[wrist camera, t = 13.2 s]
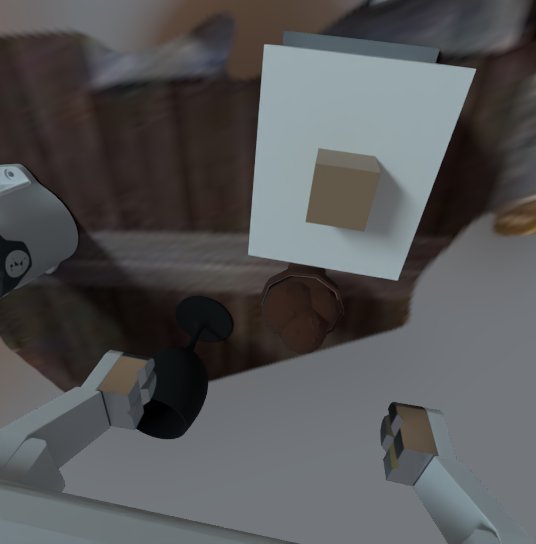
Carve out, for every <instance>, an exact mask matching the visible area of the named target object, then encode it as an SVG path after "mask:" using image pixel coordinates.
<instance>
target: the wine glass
mask: <svg viewBox="0 0 536 544" xmlns="http://www.w3.org/2000/svg"><path fill="white" fill-rule="evenodd" d="M176 319H177V322H178V324H179V326H180V327H181V328H182V330H183V331H184V332H185V333H187V334H188V335H189V336H191V337H192V338H191V340H190V342H189V344H188V345H187V346H186V348H184V347H171V348H166V349H163V350H160V351H158V352H156V353H154V354H153V355H151V356H150V357H149V358H153V359H154V364H155V366H154V368H153V371H154V373H155V374H156V386H155V390H154V393H153V395H152V397H151V399H150V401H149V402H148V403H146V404H144V405H143V410H144V413H143V415H142V417H141V419H140V421H139V423H138V425H137V427H136V429H137V430H139V431H141V432H143V433H145V434H147V435H149V436H152V437H156V438H160V439H175V438H178V437H180V436H182V435H183V434H184V433H185V432H186V431H187V430H188V428H189V427H190V426H191V424H192V423H193V422H194V420H195V418H196V417H197V416H198V414H199V412H200V410H201V408H202V406H203V404H204V401H205V398H206V395H207V390H208V376H207V371H206V368H205V366H204V364H203V362H202V360H201V359H200V358H199V356H198V355H197V354H196V353H194V352H193V350H194V347H195V344H196V342H197V340H200V341H203V342H217V341H220V340H223V339H224V338H226V337H227V336H228V335H229V334H230V332H231V329H232V319H231V316H230V314H229V312H228V311H227V310H226V308H225V307H224V306H222V305H221V304H220V303H218V302H217V301H215V300H213V299H210V298H207V297H202V296H193V297H189V298H186V299H184V300H183V301H182V302H181V303H180V304H179V305H178V307H177V310H176Z"/></svg>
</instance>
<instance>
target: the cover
mask: <svg viewBox="0 0 536 544" xmlns="http://www.w3.org/2000/svg"><path fill="white" fill-rule="evenodd" d="M475 71H476V69H472V68H465V67H457V66H450V65H443V64H436V63H428V62H421V61H413V60H404V59H396V58H387V57H379V56H370V55H362V54H353V53H344V52H336V51H327V50H319V49H310V48H302V47H293V46H280V45H268V44H267V45H266V44H264V53H263V66H262V80H261V93H260V106H259V119H258V132H257V145H256V159H255V172H254V185H253V198H252V211H251V224H250V237H249V251H248V255H252V256H258V257H263V258H269V259H275V260H281V261H287V262H292V263H298V264H304V265H310V266H315V267H321V268H327V269H333V270H339V271H344V272H350V273H356V274H362V275H367V276H373V277H379V278H385V279H391V280H396V281H398V278H399V275H400V273H401V270H402V267H403V265H404V262H405V259H406V257H407V254H408V251H409V248H410V246H411V243H412V240H413V238H414V235H415V232H416V230H417V227H418V224H419V222H420V219H421V216H422V214H423V211H424V208H425V206H426V203H427V200H428V197H429V195H430V192H431V189H432V187H433V184H434V181H435V179H436V176H437V173H438V171H439V168H440V165H441V163H442V160H443V157H444V155H445V152H446V149H447V146H448V144H449V141H450V138H451V136H452V133H453V130H454V128H455V125H456V122H457V120H458V117H459V114H460V112H461V109H462V106H463V104H464V101H465V98H466V95H467V93H468V90H469V87H470V85H471V82H472V79H473V77H474V74H475Z"/></svg>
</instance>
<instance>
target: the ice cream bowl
mask: <svg viewBox="0 0 536 544" xmlns="http://www.w3.org/2000/svg"><path fill="white" fill-rule="evenodd" d="M324 272H325V269H324V268H321V267H315V266H310V265H304V264H298V263H292V262H290V264H289V266H288V269H287V270H285V271H283V272H281V273H279V274H277V275H275V276H273V277H271V278H270V279H269V280H268V281H267V283H266V284H265V287H264V290H263V292H262V295H261V297H260V300H259V302H258V305H259V307H260V310H261V312H262V315H263V317H264V320H265V322H266V326H267V327H268V329H269V330H270V331H272V332H273V333H274V334H276V335H278V336H279V337H281V338H282V339H283V341H284V343H285V345H286V347H287V348H288V349H290V350H291V351H294V352H297V353H299V354H305V353H311V352H313V351H315V350H316V349H318V348H319V347H320V346H321V345H322V343H323V341H324V339H325V338H326V335H327V334H328V333H330V332H333V331H334V330H335V328H336V327H337V325H338V323H339V322H340V320H341V318H342V317H343V315H344V313H345V311H344V307H343V303H342V300H341V296H340V292H339V289H338V286H337V284H336V283H335V282H334V281H332V280H331V279H330V278H328V277H327V276H326V275H324Z"/></svg>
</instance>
